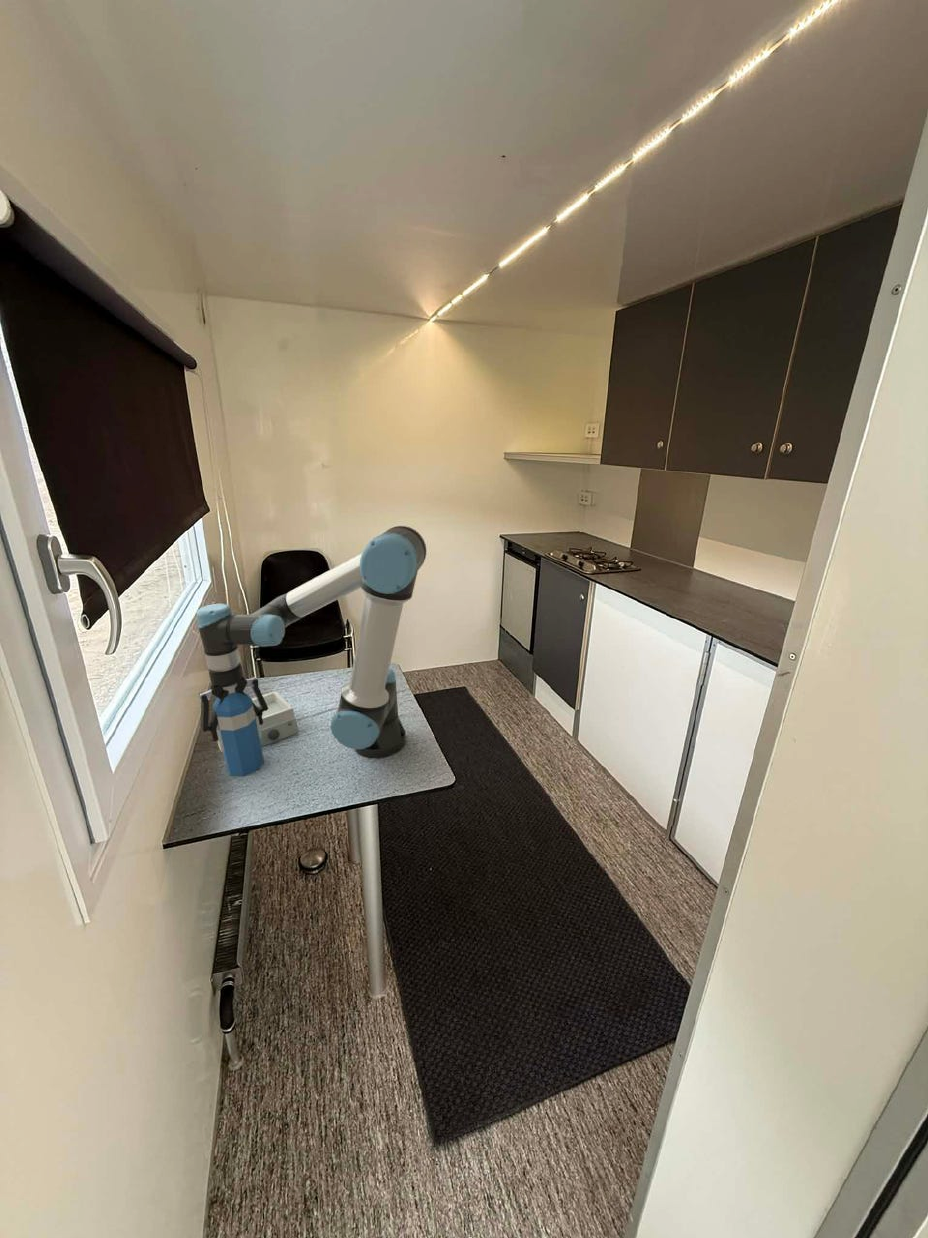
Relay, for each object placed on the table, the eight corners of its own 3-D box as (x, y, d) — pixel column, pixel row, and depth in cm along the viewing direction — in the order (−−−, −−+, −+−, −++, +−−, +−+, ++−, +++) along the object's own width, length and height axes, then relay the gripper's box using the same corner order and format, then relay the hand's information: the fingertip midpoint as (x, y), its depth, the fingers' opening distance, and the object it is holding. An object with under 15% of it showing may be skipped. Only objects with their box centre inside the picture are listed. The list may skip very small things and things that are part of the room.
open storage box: (298, 733, 143) (295, 710, 140) (250, 752, 135) (245, 728, 132) (278, 711, 155) (274, 690, 152) (233, 727, 147) (228, 705, 144)
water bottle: (223, 779, 124) (204, 694, 115) (229, 758, 132) (211, 678, 123) (262, 772, 126) (245, 689, 117) (265, 752, 134) (250, 672, 126)
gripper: (263, 649, 128) (276, 722, 136) (173, 673, 115) (192, 752, 123) (273, 658, 123) (285, 733, 130) (179, 684, 110) (200, 766, 117)
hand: (240, 742), depth 127 cm, fingers closed on water bottle, 9 cm apart
